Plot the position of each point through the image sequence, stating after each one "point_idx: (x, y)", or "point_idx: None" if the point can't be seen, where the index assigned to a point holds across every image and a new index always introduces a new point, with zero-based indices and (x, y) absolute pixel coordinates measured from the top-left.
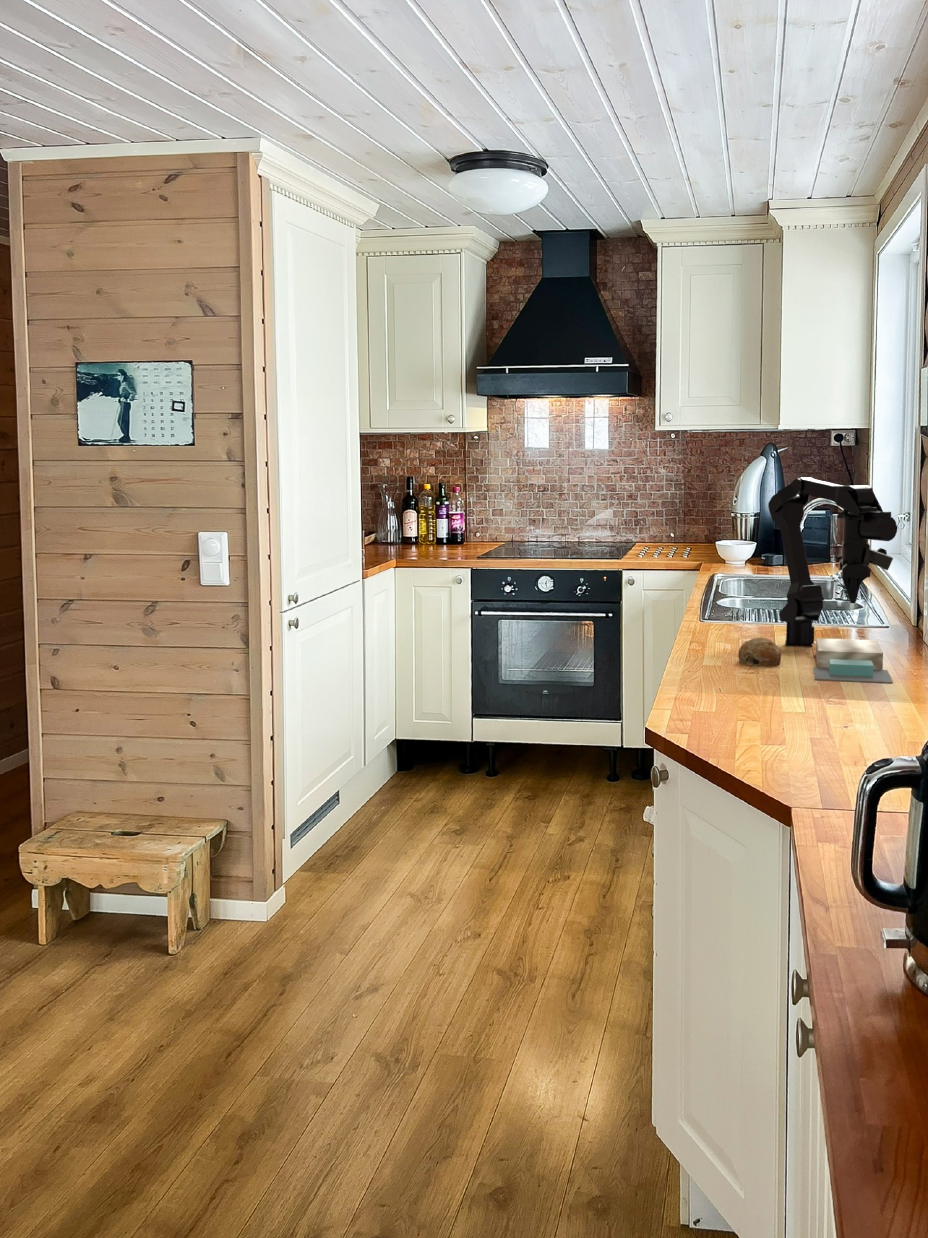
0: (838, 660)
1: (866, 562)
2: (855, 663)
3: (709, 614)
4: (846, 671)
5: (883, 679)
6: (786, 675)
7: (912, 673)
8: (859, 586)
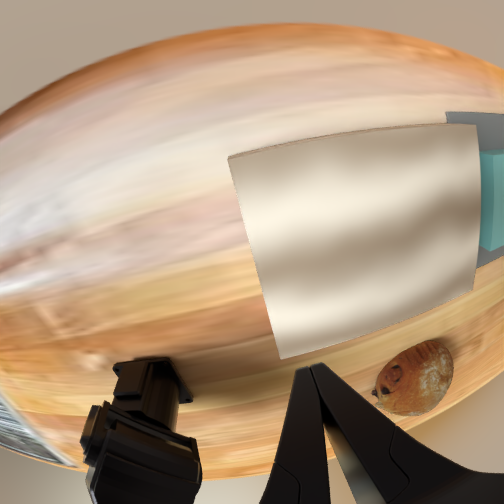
0: (499, 230)
1: None
2: None
3: (33, 453)
4: None
5: None
6: (494, 295)
7: (440, 55)
8: (429, 450)
